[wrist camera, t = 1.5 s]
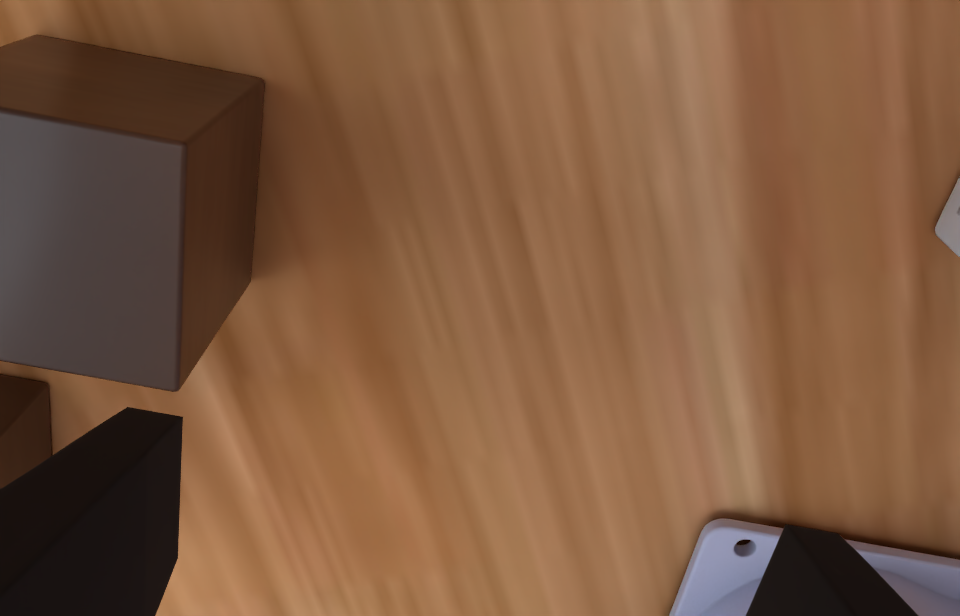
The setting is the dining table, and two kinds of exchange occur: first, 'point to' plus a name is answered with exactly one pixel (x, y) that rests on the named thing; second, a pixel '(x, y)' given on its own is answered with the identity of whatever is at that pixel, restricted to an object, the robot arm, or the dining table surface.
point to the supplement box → (951, 221)
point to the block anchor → (23, 426)
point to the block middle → (122, 208)
